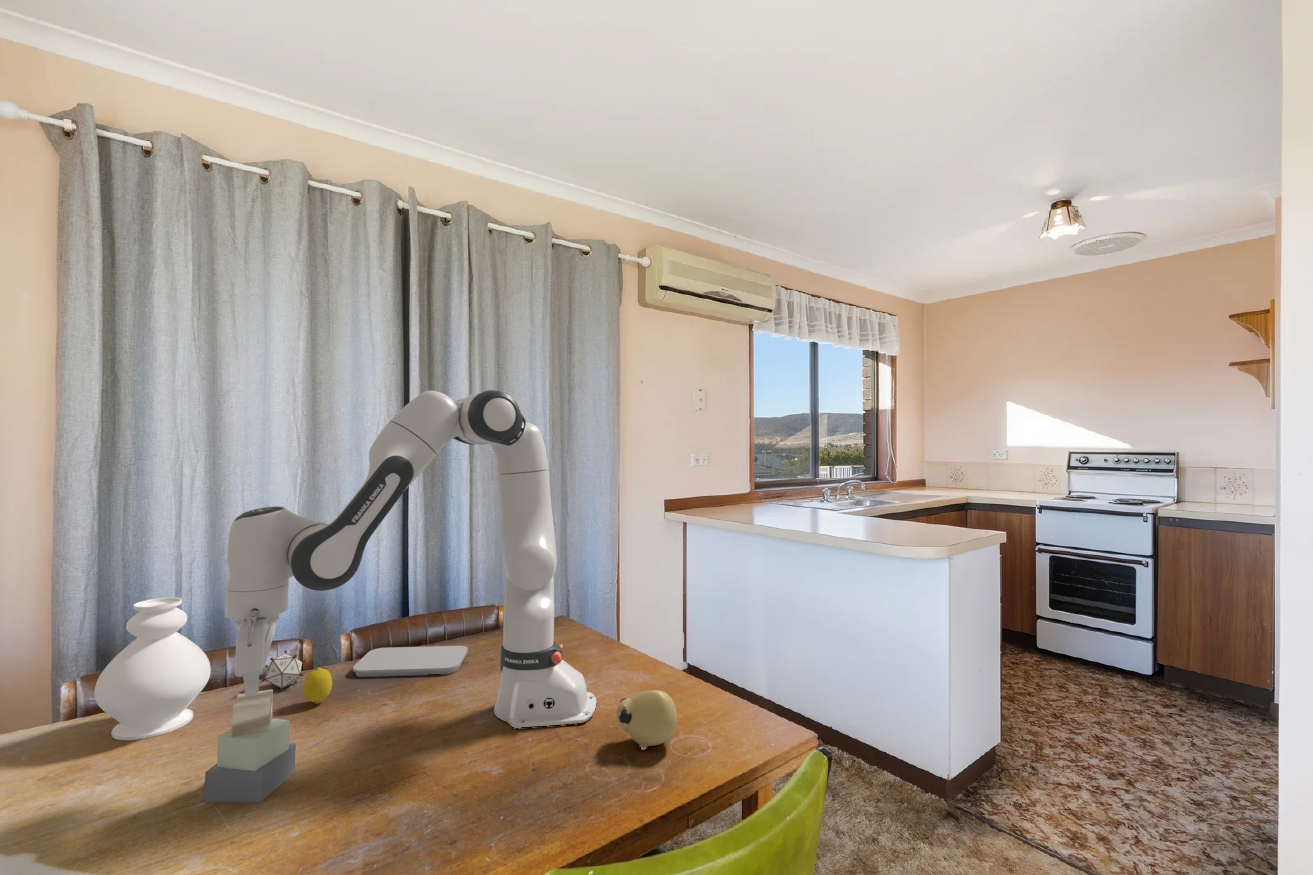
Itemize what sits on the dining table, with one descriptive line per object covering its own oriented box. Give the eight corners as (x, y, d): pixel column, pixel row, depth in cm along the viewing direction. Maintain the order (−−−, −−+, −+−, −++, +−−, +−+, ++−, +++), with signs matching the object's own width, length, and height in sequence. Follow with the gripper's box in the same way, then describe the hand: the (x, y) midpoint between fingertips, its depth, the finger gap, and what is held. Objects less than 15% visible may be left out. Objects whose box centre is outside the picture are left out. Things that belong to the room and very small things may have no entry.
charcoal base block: (294, 772, 101) (295, 743, 101) (260, 803, 92) (261, 772, 92) (243, 771, 101) (244, 743, 101) (204, 803, 92) (205, 772, 92)
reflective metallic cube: (268, 730, 96) (269, 700, 96) (231, 737, 93) (232, 706, 94) (272, 717, 100) (272, 689, 100) (237, 723, 98) (238, 694, 98)
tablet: (456, 676, 145) (457, 667, 145) (348, 680, 141) (348, 670, 141) (469, 653, 161) (469, 645, 161) (372, 656, 157) (372, 647, 157)
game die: (276, 707, 133) (247, 681, 128) (280, 681, 140) (253, 656, 135) (314, 685, 135) (287, 659, 130) (316, 660, 142) (291, 635, 137)
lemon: (337, 699, 130) (338, 663, 130) (320, 710, 124) (321, 673, 124) (314, 697, 130) (315, 662, 130) (296, 708, 125) (298, 671, 125)
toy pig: (618, 731, 118) (619, 679, 118) (676, 732, 117) (677, 680, 118) (613, 756, 108) (614, 700, 108) (677, 758, 107) (678, 701, 108)
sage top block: (288, 749, 99) (289, 720, 100) (254, 771, 92) (255, 740, 93) (253, 745, 100) (254, 716, 101) (217, 767, 94) (218, 736, 94)
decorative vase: (164, 701, 127) (168, 588, 127) (230, 710, 123) (234, 594, 124) (67, 741, 110) (72, 610, 110) (140, 753, 106) (145, 618, 106)
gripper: (274, 616, 90) (271, 704, 90) (284, 587, 108) (281, 660, 108) (224, 621, 87) (221, 712, 87) (243, 591, 105) (241, 666, 105)
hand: (255, 683), depth 97 cm, fingers open, 8 cm apart
